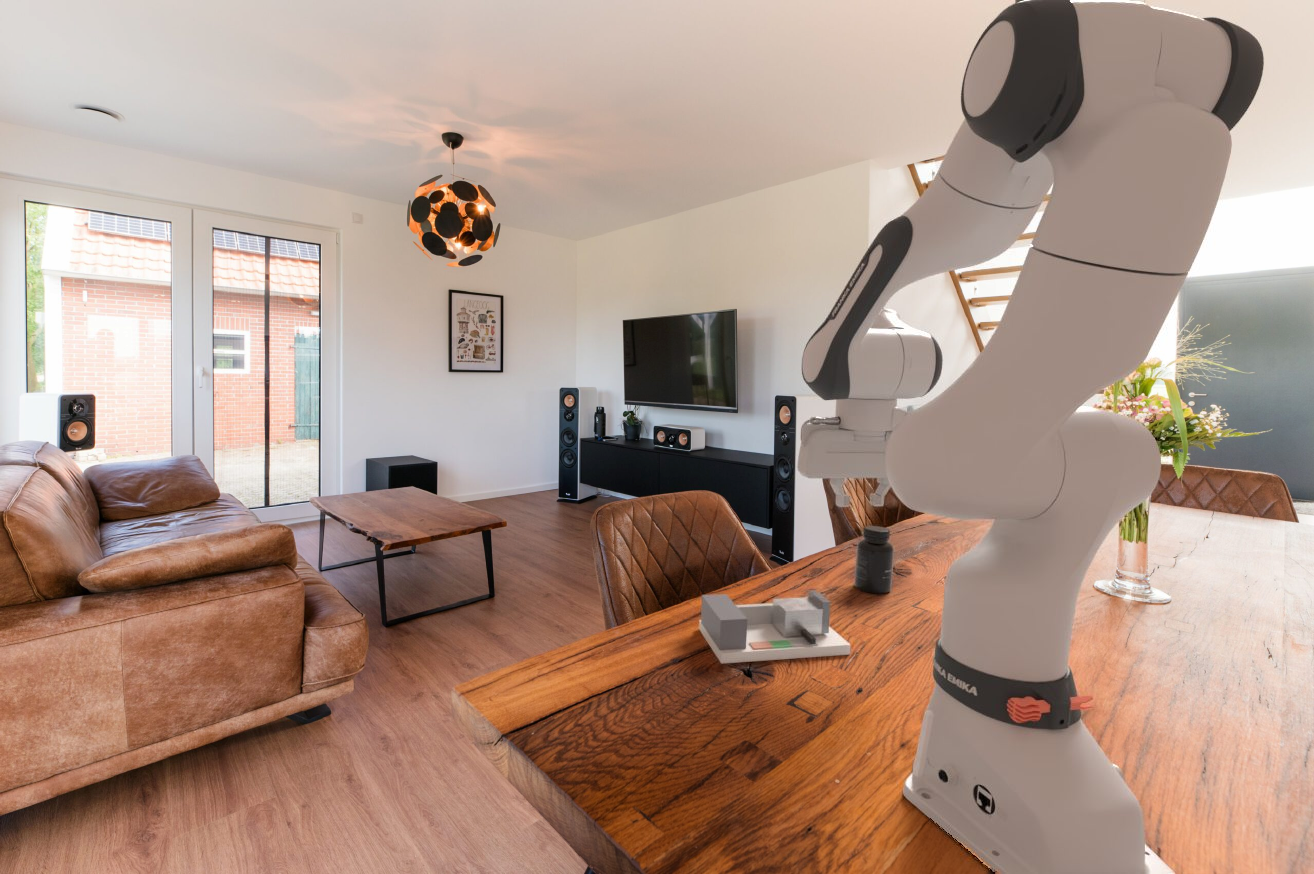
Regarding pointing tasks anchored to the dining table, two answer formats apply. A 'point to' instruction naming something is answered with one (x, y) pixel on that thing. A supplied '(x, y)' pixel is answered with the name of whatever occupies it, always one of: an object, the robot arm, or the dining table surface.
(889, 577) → the supplement bottle
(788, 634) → the grey sliding block
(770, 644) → the gauge base
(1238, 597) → the dining table surface
